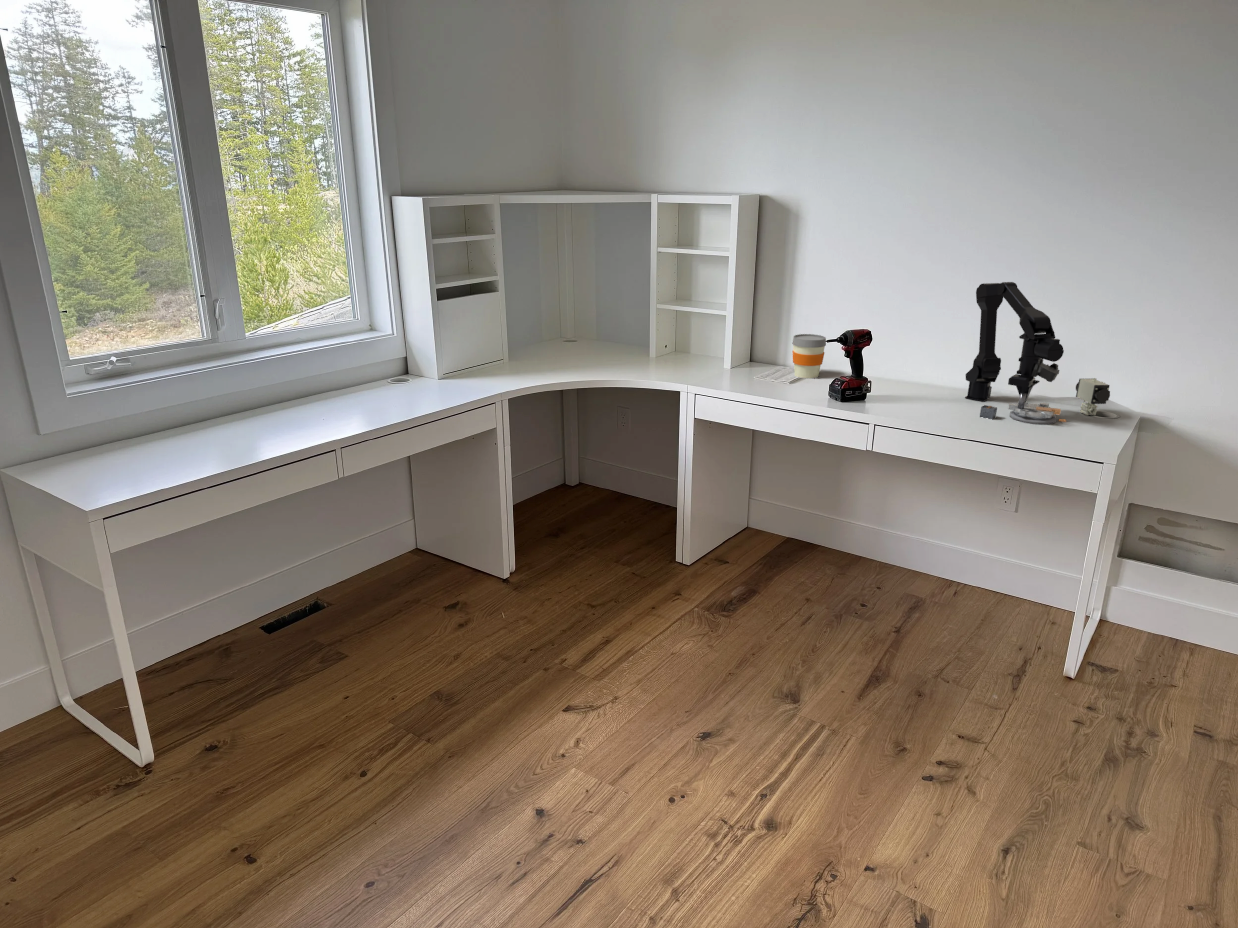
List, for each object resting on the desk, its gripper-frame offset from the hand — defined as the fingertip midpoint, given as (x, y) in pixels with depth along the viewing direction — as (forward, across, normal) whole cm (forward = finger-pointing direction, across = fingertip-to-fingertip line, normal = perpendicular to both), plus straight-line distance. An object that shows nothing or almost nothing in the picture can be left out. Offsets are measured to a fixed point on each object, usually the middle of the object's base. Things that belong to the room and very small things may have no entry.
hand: (1023, 402), depth 267 cm
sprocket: (+3, 0, -3) cm, 5 cm away
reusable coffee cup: (+4, +1, +80) cm, 80 cm away
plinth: (+5, 0, -4) cm, 7 cm away
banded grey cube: (+5, -9, +8) cm, 13 cm away
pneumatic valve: (+5, +18, -16) cm, 24 cm away
